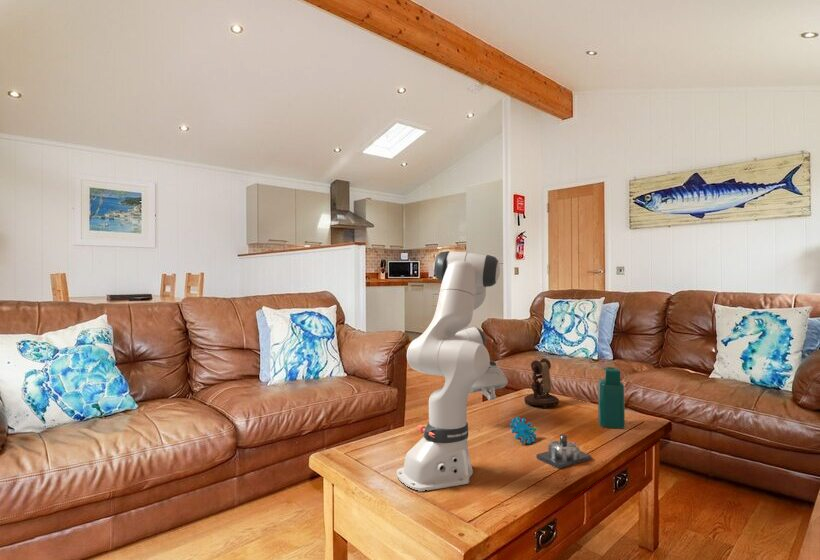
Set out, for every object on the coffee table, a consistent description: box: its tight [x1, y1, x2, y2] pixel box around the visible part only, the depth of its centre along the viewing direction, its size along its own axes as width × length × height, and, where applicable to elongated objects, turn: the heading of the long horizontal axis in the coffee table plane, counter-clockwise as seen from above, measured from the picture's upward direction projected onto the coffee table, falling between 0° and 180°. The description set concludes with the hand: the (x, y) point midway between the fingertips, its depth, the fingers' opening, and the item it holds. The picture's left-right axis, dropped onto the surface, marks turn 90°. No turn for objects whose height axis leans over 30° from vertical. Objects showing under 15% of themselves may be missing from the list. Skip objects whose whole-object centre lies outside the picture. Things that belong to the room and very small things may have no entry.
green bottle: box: [597, 366, 626, 429], centre depth 167 cm, size 10×8×22 cm
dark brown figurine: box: [523, 358, 560, 410], centre depth 196 cm, size 15×15×20 cm
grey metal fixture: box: [536, 434, 592, 470], centre depth 138 cm, size 14×9×7 cm, turn 118°
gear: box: [509, 416, 538, 446], centre depth 154 cm, size 11×6×10 cm
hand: (492, 399), depth 168 cm, fingers closed
